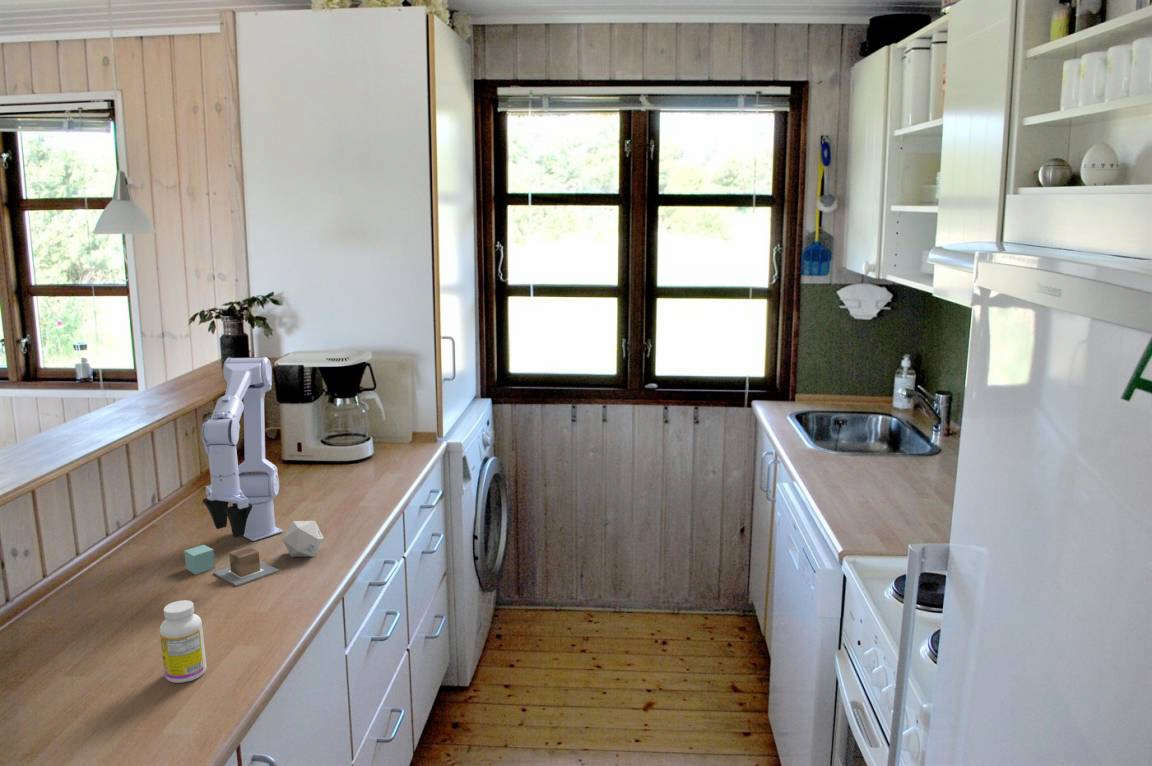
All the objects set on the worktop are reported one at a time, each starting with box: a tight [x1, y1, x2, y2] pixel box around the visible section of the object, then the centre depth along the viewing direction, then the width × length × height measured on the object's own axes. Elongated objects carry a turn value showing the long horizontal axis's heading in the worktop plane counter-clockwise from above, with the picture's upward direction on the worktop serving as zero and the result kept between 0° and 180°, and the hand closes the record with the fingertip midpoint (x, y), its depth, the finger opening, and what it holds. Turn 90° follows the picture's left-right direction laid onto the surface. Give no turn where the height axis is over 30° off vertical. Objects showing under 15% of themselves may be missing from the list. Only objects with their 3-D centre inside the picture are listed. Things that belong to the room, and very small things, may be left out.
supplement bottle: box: [159, 599, 207, 684], centre depth 147 cm, size 7×7×13 cm
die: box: [282, 520, 325, 558], centre depth 198 cm, size 8×9×10 cm
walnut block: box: [228, 545, 261, 577], centre depth 188 cm, size 4×4×4 cm
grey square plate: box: [213, 559, 280, 587], centre depth 189 cm, size 10×10×1 cm
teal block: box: [183, 544, 216, 575], centre depth 191 cm, size 4×4×4 cm
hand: (230, 531), depth 188 cm, fingers open, 7 cm apart
